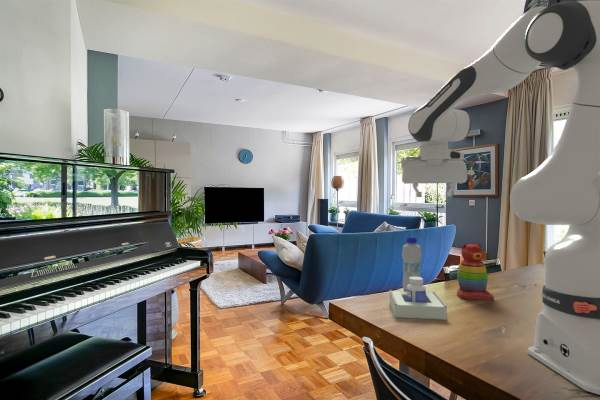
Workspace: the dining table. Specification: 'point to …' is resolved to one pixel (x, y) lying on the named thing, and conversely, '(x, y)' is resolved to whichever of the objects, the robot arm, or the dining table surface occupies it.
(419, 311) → the holed board
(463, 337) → the dining table surface
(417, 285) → the pill bottle
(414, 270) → the bottle
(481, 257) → the stacking bear
